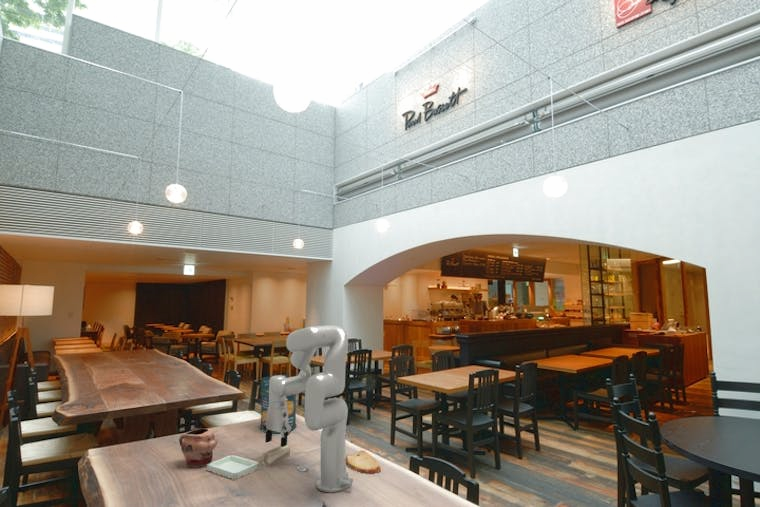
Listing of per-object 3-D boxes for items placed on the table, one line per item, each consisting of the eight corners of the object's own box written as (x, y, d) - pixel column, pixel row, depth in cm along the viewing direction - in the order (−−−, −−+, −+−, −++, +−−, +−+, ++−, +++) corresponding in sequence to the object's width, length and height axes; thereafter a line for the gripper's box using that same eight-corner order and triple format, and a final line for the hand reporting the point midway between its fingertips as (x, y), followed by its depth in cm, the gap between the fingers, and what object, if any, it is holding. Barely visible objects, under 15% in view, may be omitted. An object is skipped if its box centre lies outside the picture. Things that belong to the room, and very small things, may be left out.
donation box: (286, 423, 228) (286, 374, 232) (299, 429, 216) (300, 377, 220) (259, 429, 218) (260, 377, 221) (272, 436, 206) (273, 381, 209)
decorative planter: (166, 467, 168) (168, 433, 170) (186, 456, 180) (188, 425, 182) (206, 471, 163) (207, 436, 165) (224, 460, 175) (225, 427, 177)
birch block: (289, 457, 177) (289, 445, 178) (269, 467, 167) (269, 454, 168) (283, 455, 179) (283, 444, 180) (263, 465, 169) (263, 453, 170)
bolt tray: (259, 468, 165) (259, 462, 165) (234, 480, 154) (234, 473, 155) (231, 460, 175) (231, 454, 175) (206, 470, 164) (206, 464, 164)
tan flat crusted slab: (379, 475, 157) (379, 466, 157) (336, 472, 161) (336, 463, 161) (388, 458, 174) (387, 449, 175) (349, 456, 178) (349, 447, 178)
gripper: (297, 405, 175) (296, 445, 173) (270, 399, 184) (269, 437, 182) (284, 409, 169) (283, 450, 167) (257, 403, 178) (256, 442, 176)
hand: (276, 443), depth 175 cm, fingers open, 9 cm apart
